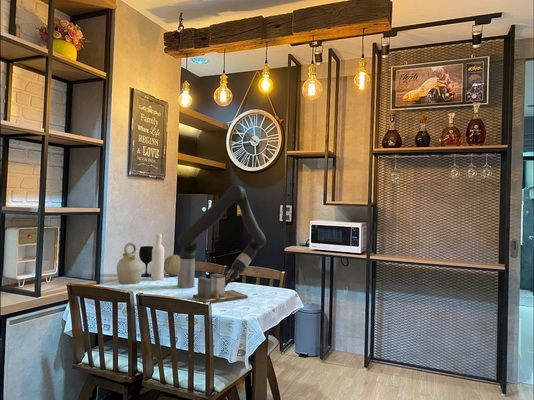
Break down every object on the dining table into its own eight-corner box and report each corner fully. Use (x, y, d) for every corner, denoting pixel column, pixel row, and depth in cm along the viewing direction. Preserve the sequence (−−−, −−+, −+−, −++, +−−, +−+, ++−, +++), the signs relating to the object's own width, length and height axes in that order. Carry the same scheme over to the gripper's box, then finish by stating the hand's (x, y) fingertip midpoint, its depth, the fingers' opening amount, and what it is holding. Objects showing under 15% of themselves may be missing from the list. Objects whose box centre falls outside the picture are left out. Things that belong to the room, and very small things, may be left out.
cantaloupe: (163, 278, 268) (163, 255, 268) (162, 274, 282) (163, 253, 282) (185, 277, 272) (186, 255, 272) (184, 273, 286) (184, 252, 286)
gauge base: (232, 292, 230) (232, 289, 230) (247, 298, 217) (247, 295, 217) (192, 297, 215) (192, 294, 215) (206, 304, 203) (207, 300, 203)
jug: (115, 280, 254) (116, 241, 254) (140, 279, 260) (141, 241, 261) (117, 285, 240) (118, 244, 240) (143, 284, 246) (145, 243, 247)
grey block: (218, 293, 220) (218, 273, 220) (227, 296, 212) (227, 276, 212) (209, 294, 217) (210, 274, 217) (218, 298, 209) (219, 277, 209)
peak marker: (216, 296, 211) (217, 289, 211) (218, 297, 209) (219, 290, 209) (214, 297, 210) (215, 289, 210) (216, 297, 208) (217, 290, 208)
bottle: (158, 277, 268) (160, 233, 268) (166, 279, 263) (167, 234, 263) (148, 279, 262) (150, 233, 262) (155, 281, 257) (157, 234, 257)
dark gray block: (202, 295, 215) (203, 276, 215) (210, 298, 208) (211, 279, 208) (197, 295, 213) (198, 277, 213) (205, 299, 206) (206, 280, 206)
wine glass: (137, 277, 268) (138, 247, 268) (139, 274, 278) (140, 245, 278) (153, 277, 270) (154, 247, 270) (154, 274, 280) (155, 246, 281)
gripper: (231, 257, 228) (212, 280, 221) (244, 260, 218) (224, 284, 210) (239, 265, 232) (220, 289, 224) (252, 269, 221) (232, 293, 214)
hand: (222, 287), depth 217 cm, fingers closed
